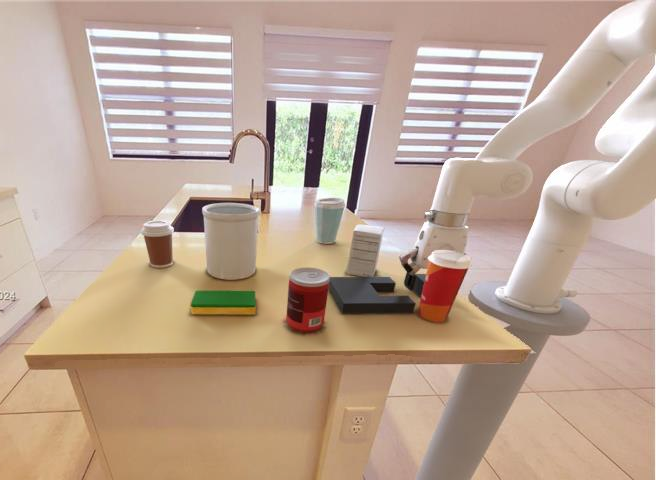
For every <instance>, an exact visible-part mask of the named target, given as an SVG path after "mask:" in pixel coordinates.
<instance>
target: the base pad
mask: <svg viewBox="0 0 656 480" xmlns="http://www.w3.org/2000/svg"><path fill="white" fill-rule="evenodd" d="M396 284H397V282H395V280H393V278H392V277H390V276H373V277H361V276H330V281H329V289H328V291H329V292H330V294H331V295H332V297H333V299H334V301H335V303H336V304H337V306H338V308H339V310H340V313H341V314H414V311H415V308H416V304H417V303H416V302H415V301H414V300H413V298H411V297H410V296H409V295H380V294H379V293H394V291H395V288H396Z"/></svg>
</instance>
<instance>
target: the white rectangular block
mask: <svg viewBox="0 0 656 480" xmlns="http://www.w3.org/2000/svg"><path fill="white" fill-rule="evenodd" d="M384 231H385V227H383V226H376V225H367V224H361V223H357V225H356V226H355V228H354V229H353V231H352V238H351V244H350V248H349V256H348V261H347V267H346V268H347V269H346V274H347V275H352V276H355V277H375V273H376V272H377V265H378V261H379V256H380V251H381V246H382V243H383V242H382V241H383V236H384Z"/></svg>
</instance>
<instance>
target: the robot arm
mask: <svg viewBox="0 0 656 480" xmlns="http://www.w3.org/2000/svg"><path fill="white" fill-rule="evenodd" d="M655 56H656V0H633V1H630V2H628V3H626V4H624V5H622V6H620V7H617V9H615V10H613V11H612V12H611V13H609V14H608V15H606V16H605V18H603V19H602V20H601V21H600V22H599V23H598V25H596V27H595V28H594V29H593V30H592V31H591V33H590V34H589V35H588V36H587V37H586V39H585V40H584V41H583V42H582V44H581V45H580V46H579V47H578V48H577V50H576V51H575V52H574V53H573V54H572V56H570V58H569V60H568V61H567V62H566V63H565V64H564V66H563V67H562V68H561V70H560V71H559V72H558V73H557V74H556V75H555V77H554V78H553V79H552V80H551V81H550V83H548V85H547V86H546V87H545V89H544V90H543V91H542V92H541V93H540V94H539V96H538V97H536V98H535V100H534V101H532V102H531V103H530V104H528V105H527V106H525V108H524V109H522V110H520V112H519V113H518V114H516V115H515V116H514V117H513V118H512V119H511V120H509V121H508V122H507V123H506V124H505V125H503V126H502V127H501V128H500V129H499V130H498V131H497V132H496V133H495V134H494V135H493V136H492V137H491V138H490V139H489V140H488V142H487V143H486V144H485V145H484V146H483V148H481V150H480V151H479V152H478V153H477V155H476V156H475V158H467V157H465V158H463V157H454V158H448V159H447V160H446V161H445V162H444V164H443V165H442V168H441V171H440V176H439V179H438V183H437V186H436V190H435V192H434V197H433V201H432V204H431V208H430V209H429V212H425V213H424V214H423V219H424V220H427V221H426V222H424V223H423V225H422V227H421V229H420V231H419V233H418V235H417V238H416V241H415V243H414V245H413V248H412V249H410V250H408V251H406V252H404V253H402V254H400V255H399V256H398V258H399V261H400V264H401V266H402V268H403V269H404V271H405V272H406V273H405V277H404V281H403V285H404V287H405V288H406V289H407V290H408V291H413V287H414V284H415V280H416V275H415V274H418V272H419V271H420V270H421V269H423V270H427V268H428V264H429V259H428V257H429V256H430V255H431V254H432V252H433V251H435V250H451V251H456V253H458V252H459V253H462V254H464V255H468V254H467V253H465V251H466V248H467V243H468V239H469V238H468V237H469V226H468V225H467V221H468V220H469V216H470V213H471V210H472V208H473V204H474V201H475V198H476V197H482V198H488V199H493V200H500V201H501V200H502V201H503V200H505V201H506V200H511V199H514V198H516V197H517V198H518V197H519V196H520V195H522V194H524V193H525V192H526V191H527V190H528V189H529V188H530V187H531V185H532V183H533V177H534V175H533V171H532V169H531V167H530V166H529V165H528V164H527V163H525V162H523V161H520V160H517V158H519V157H520V156H521V155H522V154H523V153H524V152H525V151H526V150H527V149H528V148H530V147H531V146H532V145H534V144H536V143H538V142H539V141H540V140H542V139H543V138H546V137H548V136H549V135H552V134H554V133H557V132H558V131H561V130H564V129H566V128H567V127H569V126H572V125H574V124H575V123H577V122H579V121H581V120H582V119H583V118H586V116H587V115H588V114H589V113H590V112H591V111H592V109H594V108H595V107H596V105H597V104H599V102H600V101H602V99H603V98H604V96H605V95H606V94H608V92H609V91H610V90H611V89H612V88H613V87H614V85H616V83H617V82H618V81H619V80H620V79H621V78H622V77H623V76H624V74H626V73H627V72H628V70H629V69H631V67H632V66H633V65H634V64H635V63H636V62H638V61H639V60H642V59H646V58H650V57H655ZM594 147H595V149H596V150H597V152H598V153H600V154H602V155H604V156H607V157H612V158H619V159H620V160H619V161H618V162H614V161H608V160H607V161H606V160H597V159H579V160H574V161H570V162H567V163H565V164H562V165H561V166H559V167H558V168H556V169H555V170H554V171H553V172H551V174H550V175H549V176H548V177H547V179H546V180H545V182H544V185H543V187H542V190H541V194H540V199H539V204H538V209H537V212H536V215H535V218H534V221H533V223H532V226H531V228H530V230H529V232H528V235H527V237H526V240H525V241H524V244H523V246H522V248H521V251H520V254H519V255H518V257H517V260H516V263H515V265H514V267H513V270H512V272H511V274H510V276H509V279H508V280H507V282H508V283H507V285H506V286H502V287H499V288H497V290H496V292H495V295H496V297H497V298H498V299H500V300H501V301H502V302H504V303H506V304H508V305H510V306H513V307H515V308H518V309H522V310H525V311H529V312H534V313H541V314H553V313H557V312H559V311H560V309H561V307H562V305H561V303H560V302H559V299H560V298H563V297H564V298H575V297H576V296H577V295H578V291H577V290H576V289H574V288H563V287H564V284H565V283H566V281H567V279H568V277H569V275H570V273H571V271H572V269H573V267H574V265H575V264H576V262H577V260H578V258H579V256H580V254H581V253H582V251H583V248H584V247H585V245H586V243H587V242H588V239H589V237H590V235H591V232H592V230H593V223H594V218H596V219H600V220H606V221H616V220H621V219H625V218H628V217H632V216H633V215H635V214H637V213H639V212H640V211H642V210H643V209H645V208H646V207H647V206H649V205H650V204H651V203H652V202H654V201H655V200H656V64H655V65H654V67H653V68H652V69H651V71H649V74H647V76H646V77H645V78H644V79H643V81H642V82H641V83H640V84H639V86H638V87H637V88H636V89H635V90H634V91H633V92H632V93H631V95H630V96H629V97H628V98H626V99H625V100H624V102H623V103H622V104H621V105H620V106H619V107H618V109H617V110H616V111H615V112H614V114H612V115H611V116H610V118H609V119H608V120H607V121H606V122H605V123H604V125H603V126H602V128H600V130H599V131H598V133H597V135H596V136H595V141H594ZM469 257H470V258H471V259H472V257H471V256H469ZM409 260H411V262H410V263H409Z"/></svg>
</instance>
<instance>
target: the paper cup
mask: <svg viewBox="0 0 656 480" xmlns="http://www.w3.org/2000/svg"><path fill="white" fill-rule="evenodd" d="M470 257H471V256H469V255H468V254H467V255H464V254H462V253H459V252H458V253H456V251H451V250H435V251H433V252H432V254H431V255H430V256H429V257H428V259H429V264H428V268H427V269H426V273H425V274H426V277H425V282H424V286H423V291H422V295H421V297H420V301H419V305H418V310H417V313H418V316H420V317H421V318H422V319H424V320H426V321H429V322H433V323H442V322H445V321H446V320H447V318H448V316H449V313H450V312H451V310H452V307H453V305H454V303H455V301H456V298H457V296H458V294H459V291H460V289H461V286H462V285H463V282H464V280H465V277H466V275H467V273H468V270H469V269H471V268H472V265H473V264H472V257H471V258H470Z"/></svg>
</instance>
